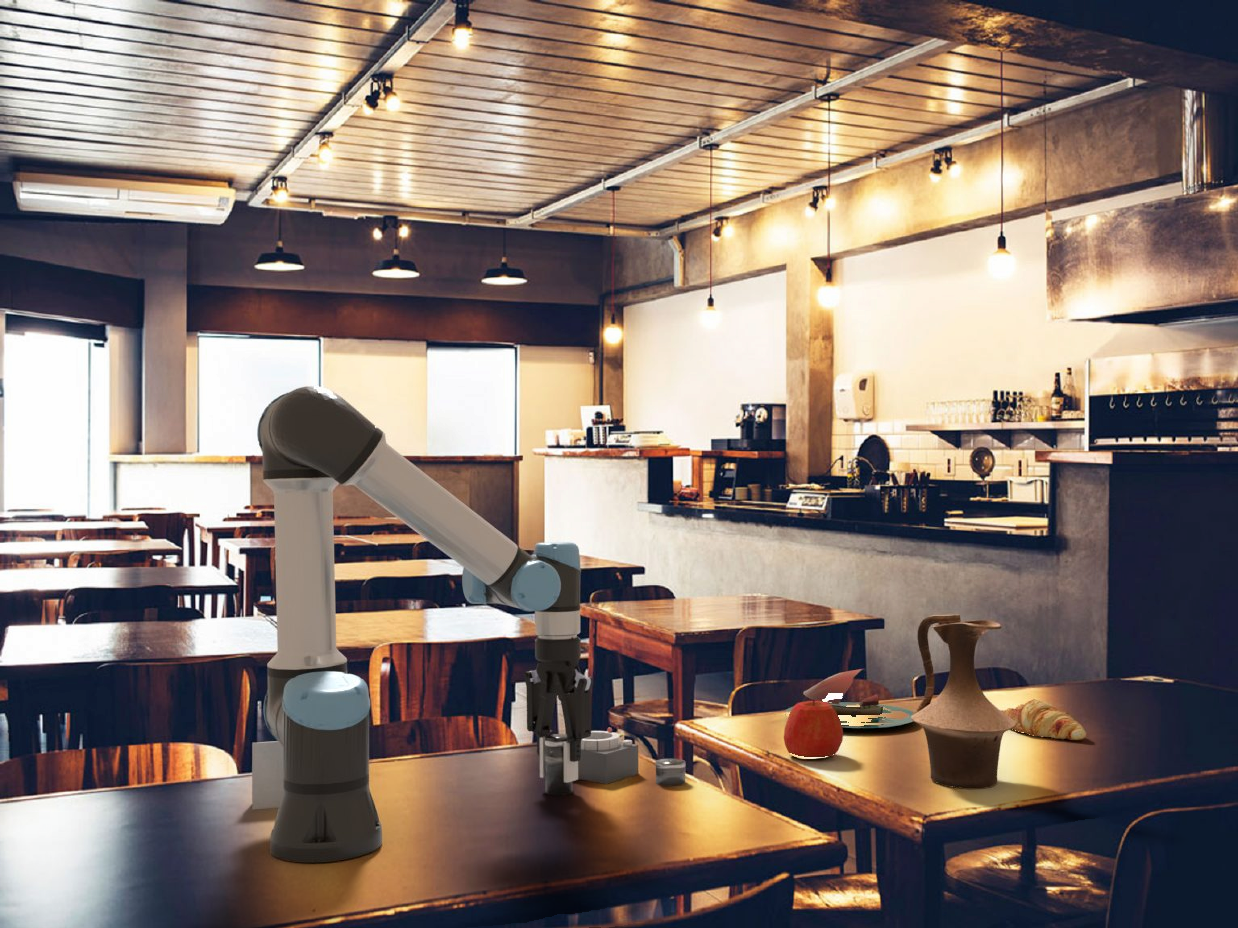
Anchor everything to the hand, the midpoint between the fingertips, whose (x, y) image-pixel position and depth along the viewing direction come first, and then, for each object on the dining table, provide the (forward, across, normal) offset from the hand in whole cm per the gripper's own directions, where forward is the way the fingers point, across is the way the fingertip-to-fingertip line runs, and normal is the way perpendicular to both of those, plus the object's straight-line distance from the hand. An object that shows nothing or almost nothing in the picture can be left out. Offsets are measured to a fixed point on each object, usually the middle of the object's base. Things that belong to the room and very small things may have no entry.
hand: (558, 777), depth 192 cm
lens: (+2, 0, 0) cm, 2 cm away
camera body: (+2, +3, -13) cm, 14 cm away
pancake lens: (+2, -11, -16) cm, 20 cm away
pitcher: (+2, -50, -46) cm, 68 cm away
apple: (+2, -21, -47) cm, 52 cm away
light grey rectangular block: (+2, +31, +33) cm, 45 cm away
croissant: (+3, -47, -92) cm, 104 cm away
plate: (+2, -11, -81) cm, 82 cm away
